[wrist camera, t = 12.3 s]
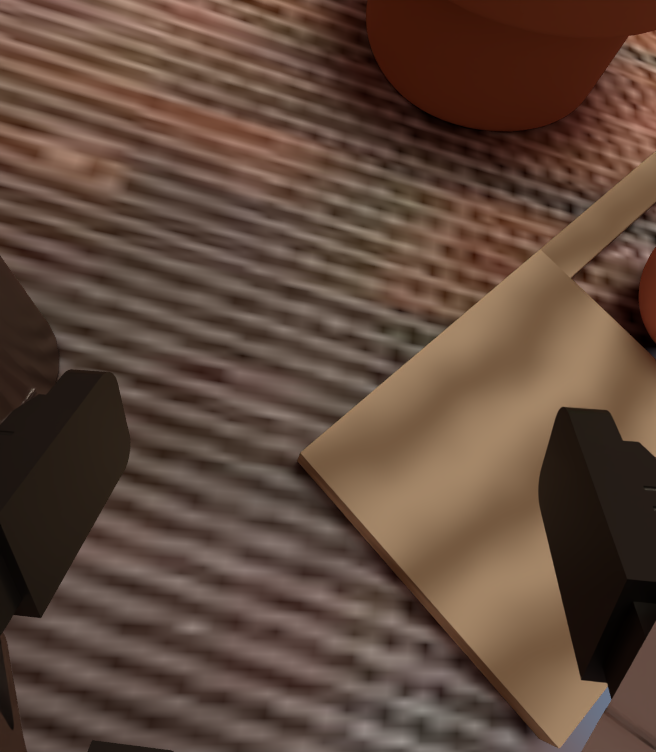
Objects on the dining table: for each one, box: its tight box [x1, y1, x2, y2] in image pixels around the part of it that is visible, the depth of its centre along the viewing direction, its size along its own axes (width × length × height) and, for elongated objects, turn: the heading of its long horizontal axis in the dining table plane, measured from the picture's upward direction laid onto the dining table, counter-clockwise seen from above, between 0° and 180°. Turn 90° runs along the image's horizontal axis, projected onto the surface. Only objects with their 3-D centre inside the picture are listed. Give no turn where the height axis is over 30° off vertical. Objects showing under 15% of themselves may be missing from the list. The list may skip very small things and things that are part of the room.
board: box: [297, 151, 656, 748], centre depth 36 cm, size 18×36×2 cm, turn 132°
